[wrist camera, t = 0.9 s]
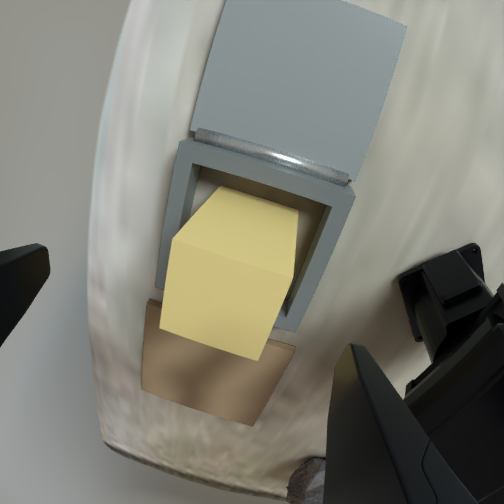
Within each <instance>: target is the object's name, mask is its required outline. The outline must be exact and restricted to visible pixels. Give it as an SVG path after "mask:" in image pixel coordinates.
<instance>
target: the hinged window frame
mask: <svg viewBox="0 0 504 504" xmlns="http://www.w3.org/2000/svg"><path fill="white" fill-rule="evenodd" d="M406 29H407V26H405V25H403V24H400V23H398V22H396V21H394V20H391V19H389V18H387V17H384V16H382V15H379V14H377V13H374V12H372V11H369V10H367V9H364V8H361V7H359V6H356V5H353V4H350V3H347V2H344V1H341V0H226V3H225V6H224V9H223V12H222V15H221V18H220V21H219V24H218V28H217V31H216V34H215V37H214V41H213V44H212V47H211V51H210V54H209V58H208V61H207V65H206V68H205V72H204V76H203V79H202V83H201V87H200V91H199V95H198V99H197V102H196V106H195V111H194V115H193V119H192V123H191V127H190V130H191V131H195V132H196V133H195V137H190V138H187V139H184V140H182V141H179V146H178V150H177V155H176V160H175V165H174V170H173V175H172V180H171V186H170V191H169V197H168V202H167V208H166V214H165V220H164V226H163V232H162V239H161V246H160V252H159V260H158V267H157V275H156V282H155V287H157V288H160V289H162V290H164V289H165V282H166V275H167V269H168V262H169V256H170V250H171V244H172V239H173V237H174V236H175V235H176V234H177V233H178V232H179V231H180V230H181V228H182V227H183V226H184V225H185V224H186V223H187V222H188V221H189V217H190V212H191V207H192V203H193V198H194V193H195V189H196V184H197V180H198V175H199V171H200V167H201V165H202V166H205V167H209V168H212V169H216V170H219V171H223V172H226V173H230V174H233V175H236V176H240V177H243V178H246V179H250V180H253V181H256V182H259V183H262V184H266V185H269V186H272V187H275V188H278V189H281V190H284V191H287V192H290V193H293V194H297V195H300V196H303V197H305V198H308V199H311V200H314V201H317V202H320V203H323V204H326V208H325V210H324V213H323V215H322V218H321V221H320V223H319V226H318V228H317V231H316V233H315V236H314V238H313V241H312V243H311V246H310V248H309V251H308V253H307V256H306V258H305V261H304V263H303V266H302V268H301V271H300V273H299V275H298V278H297V280H296V283H295V285H294V287H293V290H292V292H291V295H290V297H289V299H288V300H285V299H284V301H283V304H282V306H281V308H280V311H279V313H278V316H277V318H276V320H275V323H274V325H273V326H274V327H277V328H281V329H284V330H287V331H291V332H294V333H295V332H296V330H297V328H298V326H299V324H300V322H301V320H302V318H303V316H304V314H305V312H306V309H307V307H308V305H309V303H310V301H311V299H312V297H313V295H314V292H315V290H316V288H317V286H318V284H319V281H320V279H321V277H322V275H323V273H324V270H325V268H326V266H327V264H328V261H329V259H330V257H331V255H332V252H333V250H334V248H335V245H336V243H337V241H338V238H339V236H340V234H341V231H342V229H343V227H344V224H345V222H346V219H347V217H348V214H349V212H350V210H351V207H352V205H353V202H354V200H355V197H356V196H355V194H354V192H353V190H352V188H351V186H348V185H347V182H348V179H350V180H353V181H356V179H357V176H358V173H359V171H360V168H361V166H362V163H363V160H364V157H365V155H366V152H367V149H368V147H369V144H370V141H371V138H372V135H373V133H374V130H375V127H376V124H377V121H378V118H379V115H380V112H381V109H382V106H383V103H384V100H385V97H386V94H387V91H388V88H389V85H390V82H391V79H392V76H393V73H394V69H395V66H396V63H397V60H398V56H399V53H400V50H401V46H402V43H403V39H404V36H405V32H406Z"/></svg>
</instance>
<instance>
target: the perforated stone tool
mask: <svg viewBox="0 0 504 504" xmlns="http://www.w3.org/2000/svg"><path fill="white" fill-rule="evenodd" d="M325 463H326V460H324V459H322V458H313V459H311V460H310V461H309V462H307V463H304V464H302V465H301V466H300V467H299V468H298V469H297V470H296V471H295V472H294V473H293V474H292V476H291V478H290V480H289V483H288V486H287V487H286V488H287V489H288V493H287V498H286V501H287V502H289V503H290V504H323V492H324V479H325Z"/></svg>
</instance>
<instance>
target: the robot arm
mask: <svg viewBox="0 0 504 504" xmlns="http://www.w3.org/2000/svg"><path fill="white" fill-rule="evenodd" d="M473 249H475V251H474V252H473V253H472V250H473ZM49 275H50V262H49V254H48V249H47V248H46V247H45V246H43V245H40V244H38V243H35V244H30V245H26V246H22V247H18V248H13V249H9V250H5V251H1V252H0V347H1V346H2V344H3V343H4V341H5V340H6V338H7V337H8V336H9V334H10V333H11V332H12V330H13V329H14V327H15V326H16V325H17V323H18V322H19V321H20V319H21V318H22V317H23V315H24V314H25V313H26V311H27V309H28V308H29V306H30V305H31V303H32V302H33V300H34V299H35V297H36V295H37V294H38V292H39V291H40V289H41V288H42V286H43V285H44V283H45V282H46V280H47V279H48V277H49ZM404 279H408V280H407V281H406V282H402V281H403V280H404ZM398 284H399V287H400V290H401V293H402V297H403V300H404V303H405V307H406V310H407V314H408V317H409V321H410V325H411V328H412V332H413V336H414V339H415V341H417V342H421V341H424V343H425V346H426V349H427V351H428V354H429V357H430V360H431V363H432V364H431V365H430V366H429V367H428V368H427V369H426V370H425V371H424V372H422V373H421V374H420V375H419V376H418V377H417V378H416V379H415V380H411V381H410V382H409V383H408V384H407V385H406V392H405V398H404V399H403V400H402V398H401V397H400V395H399V394H398V392H397V391H396V390H395V388H394V387H393V385H392V384H391V383H390V381H389V380H388V378H387V377H386V376H385V374H384V373H383V371H382V370H381V369H380V367H379V366H378V364H377V363H376V362H375V360H374V359H373V357H372V356H371V355H370V353H369V352H368V351H367V349H366V348H365V347H364V346H362V345H358V344H354V343H350V344H348V345H347V347H346V348H345V350H344V352H343V354H342V356H341V357H340V359H339V361H338V362H337V365H336V367H335V371H334V379H333V386H332V393H331V400H330V407H329V414H328V423H327V444H326V463H325V479H324V492H323V504H504V283H502V284H501V285H500V286H499V288H498V289H497V293H496V294H495V295H493V294H492V292H491V291H490V290H489V288H488V287H487V286H486V284H485V280H484V271H483V263H482V256H481V249H480V247H479V246H478V245H477V244H476V243H471V244H469V245H467V246H464V247H462V248H460V249H458V250H453V251H451V252H449V253H447V254H444V255H442V256H440V257H438V258H435V259H433V260H431V261H428V262H426V263H424V264H423V265H421V266H419V267H416V268H414V269H411V270H409V271H407V272H404V273H402V274H400V276H399V277H398ZM419 335H421V336H419Z"/></svg>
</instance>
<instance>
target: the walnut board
mask: <svg viewBox="0 0 504 504" xmlns="http://www.w3.org/2000/svg"><path fill="white" fill-rule="evenodd" d="M161 311H162V303H159V302H157V301H154V300H151V299H149V301H148V302H147V307H146V318H145V331H144V345H143V363H142V387H141V389H142V390H144V391H147V392H149V393H152V394H155V395H157V396H160V397H162V398H165V399H168V400H170V401H173V402H176V403H179V404H181V405H184V406H187V407H190V408H193V409H196V410H199V411H202V412H205V413H208V414H211V415H215V416H218V417H221V418H225V419H228V420H231V421H235V422H238V423H242V424H246V425H249V426H253V425H254V424H255V422H256V420H257V419H258V417H259V415H260V414H261V412H262V410H263V408H264V407H265V405H266V403H267V402H268V400H269V398H270V396H271V395H272V393H273V391H274V389H275V387H276V386H277V384H278V382H279V380H280V378H281V377H282V375H283V373H284V371H285V369H286V367H287V366H288V364H289V362H290V360H291V358H292V356H293V354H294V352H295V346H291V345H288V344H284V343H281V342H277V341H274V340H270V339H267V341H266V344H265V346H264V348H263V350H262V353H261V355H260V357H259V360H258V361H256V360H252V359H249V358H246V357H243V356H239V355H236V354H233V353H230V352H227V351H224V350H220V349H217V348H214V347H211V346H208V345H205V344H202V343H199V342H197V341H194V340H191V339H188V338H185V337H182V336H180V335H177V334H174V333H171V332H169V331H166V330H163V329H160V328H159V327H160V319H161Z"/></svg>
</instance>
